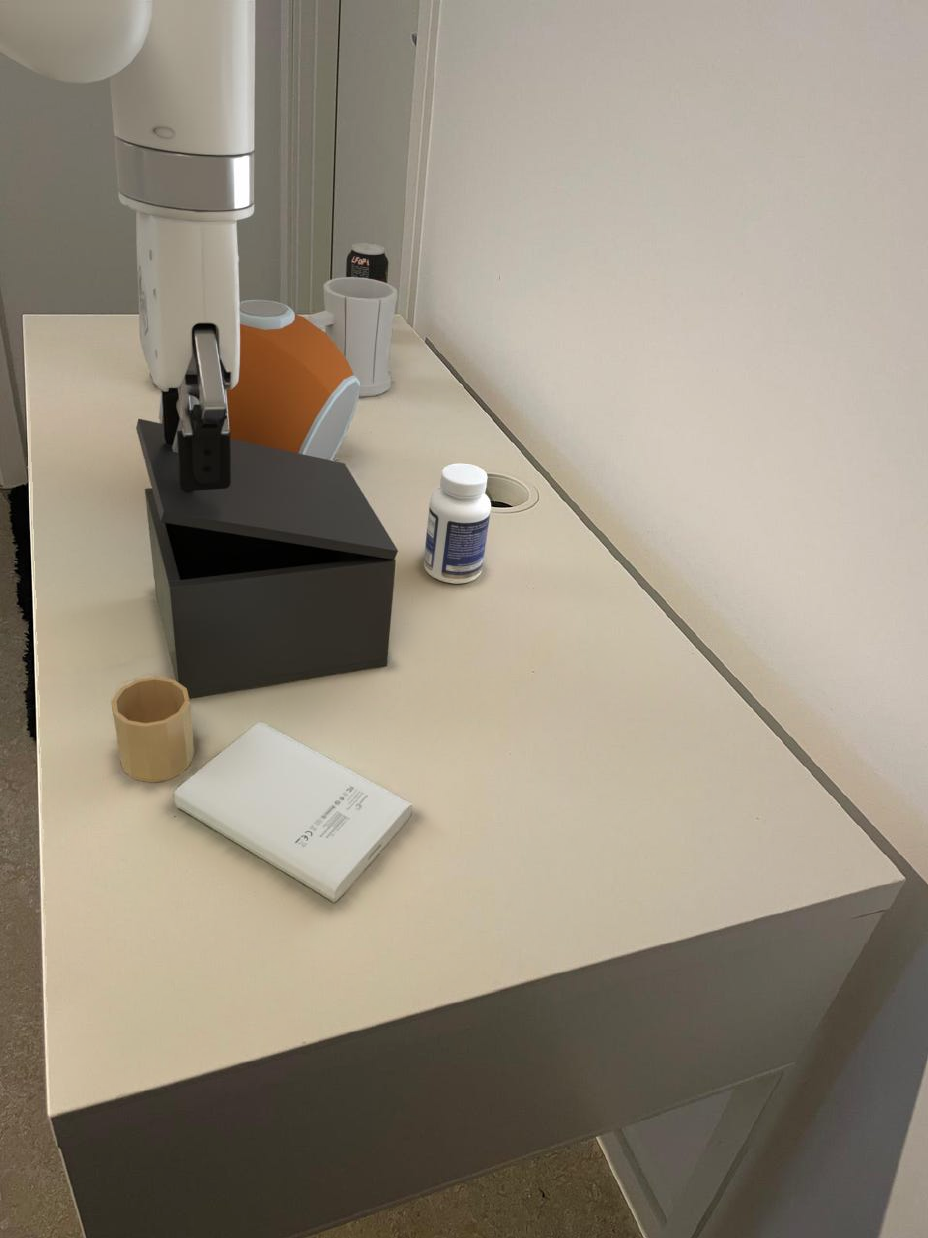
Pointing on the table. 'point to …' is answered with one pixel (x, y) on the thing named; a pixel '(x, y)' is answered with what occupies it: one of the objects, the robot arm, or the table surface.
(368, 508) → the lid
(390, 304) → the cup
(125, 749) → the wooden cup
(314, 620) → the open storage box
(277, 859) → the hard drive
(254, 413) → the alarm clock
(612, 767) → the table surface
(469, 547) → the pill bottle
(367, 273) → the beverage can
